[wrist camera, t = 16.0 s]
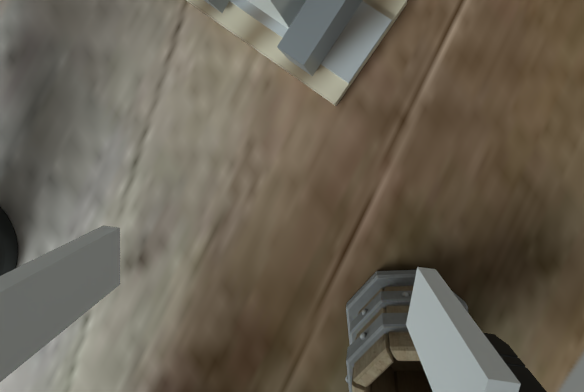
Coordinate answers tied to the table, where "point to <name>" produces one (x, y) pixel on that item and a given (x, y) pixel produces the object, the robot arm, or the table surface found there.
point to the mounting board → (341, 57)
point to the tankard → (384, 336)
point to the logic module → (280, 9)
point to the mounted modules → (311, 30)
